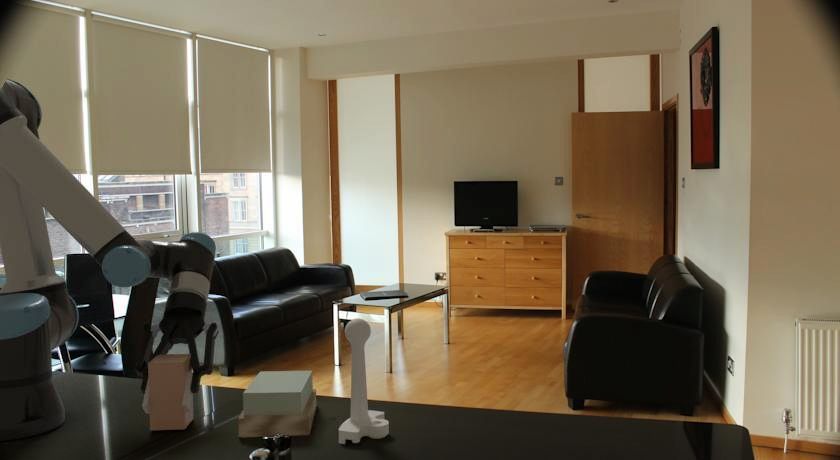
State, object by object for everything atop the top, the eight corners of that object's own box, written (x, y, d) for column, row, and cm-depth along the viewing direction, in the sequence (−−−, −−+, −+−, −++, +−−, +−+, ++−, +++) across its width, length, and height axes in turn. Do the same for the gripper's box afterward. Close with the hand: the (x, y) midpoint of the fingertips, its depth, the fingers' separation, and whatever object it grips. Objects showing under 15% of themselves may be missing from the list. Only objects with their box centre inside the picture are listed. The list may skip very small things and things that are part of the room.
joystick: (362, 421, 127) (360, 312, 126) (400, 426, 124) (399, 314, 123) (332, 442, 117) (330, 323, 116) (373, 448, 114) (371, 326, 113)
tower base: (238, 441, 120) (238, 418, 120) (254, 411, 136) (253, 391, 136) (309, 438, 121) (309, 416, 120) (316, 409, 137) (316, 389, 136)
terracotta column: (150, 430, 123) (148, 362, 122) (160, 419, 129) (158, 354, 128) (185, 429, 123) (183, 362, 122) (193, 418, 129) (191, 353, 128)
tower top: (243, 415, 121) (243, 393, 121) (260, 391, 135) (260, 371, 135) (301, 414, 121) (301, 392, 121) (312, 391, 135) (312, 370, 135)
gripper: (239, 310, 141) (224, 417, 125) (142, 312, 139) (115, 420, 124) (233, 288, 135) (218, 397, 120) (132, 290, 134) (103, 400, 118)
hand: (166, 408), depth 122 cm, fingers closed on terracotta column, 6 cm apart
